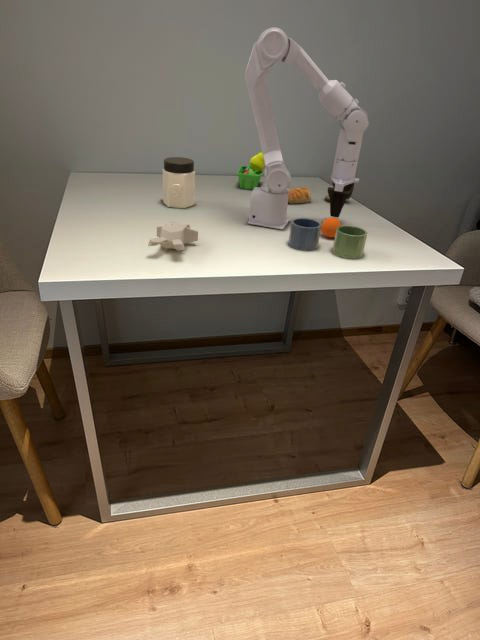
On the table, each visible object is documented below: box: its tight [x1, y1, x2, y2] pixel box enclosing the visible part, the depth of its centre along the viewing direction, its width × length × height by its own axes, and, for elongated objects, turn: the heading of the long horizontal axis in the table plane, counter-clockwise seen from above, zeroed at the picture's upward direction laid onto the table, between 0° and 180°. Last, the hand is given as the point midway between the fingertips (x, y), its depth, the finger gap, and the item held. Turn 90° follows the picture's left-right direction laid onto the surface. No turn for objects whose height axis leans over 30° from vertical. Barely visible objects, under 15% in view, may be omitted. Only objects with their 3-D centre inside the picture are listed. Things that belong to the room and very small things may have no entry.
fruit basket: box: [236, 150, 265, 190], centre depth 152 cm, size 11×9×11 cm
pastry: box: [288, 187, 312, 205], centre depth 142 cm, size 9×7×4 cm
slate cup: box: [288, 217, 322, 252], centre depth 111 cm, size 7×7×6 cm
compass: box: [324, 184, 355, 203], centre depth 144 cm, size 8×8×7 cm
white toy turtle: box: [147, 221, 199, 252], centre depth 104 cm, size 10×5×15 cm
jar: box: [162, 156, 196, 209], centre depth 129 cm, size 9×8×12 cm
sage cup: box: [332, 224, 368, 260], centre depth 108 cm, size 7×7×6 cm
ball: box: [321, 216, 342, 238], centre depth 117 cm, size 5×5×5 cm
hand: (336, 212), depth 123 cm, fingers open, 7 cm apart
